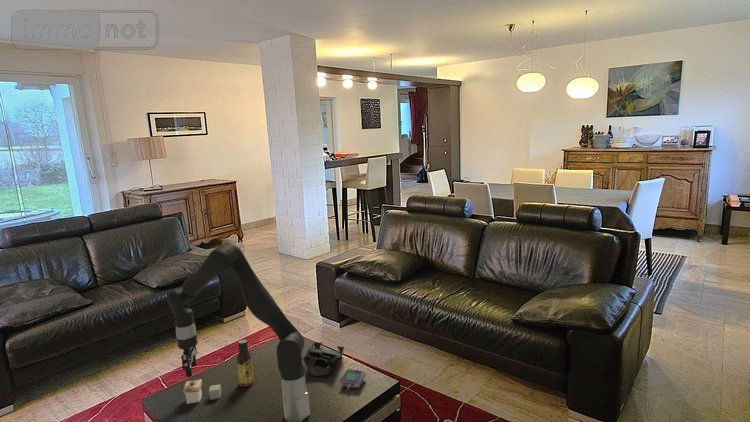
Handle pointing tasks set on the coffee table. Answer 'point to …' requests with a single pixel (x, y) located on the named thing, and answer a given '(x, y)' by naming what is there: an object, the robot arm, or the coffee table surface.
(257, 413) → the coffee table surface
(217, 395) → the gray cube
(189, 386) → the lid
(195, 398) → the white cube box
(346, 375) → the grey electronic device
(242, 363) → the sauce bottle
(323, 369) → the dark piece
